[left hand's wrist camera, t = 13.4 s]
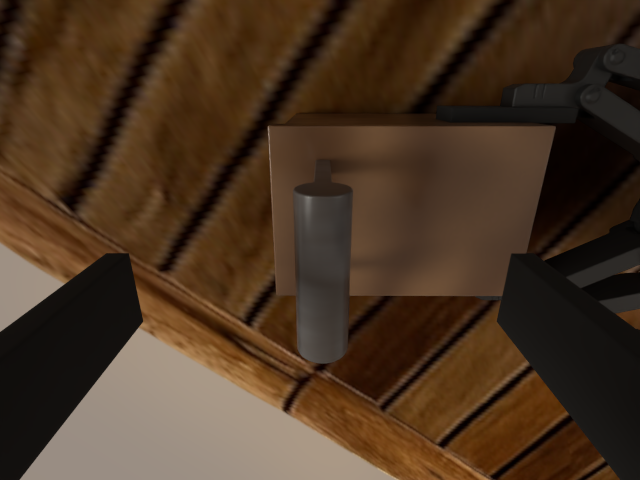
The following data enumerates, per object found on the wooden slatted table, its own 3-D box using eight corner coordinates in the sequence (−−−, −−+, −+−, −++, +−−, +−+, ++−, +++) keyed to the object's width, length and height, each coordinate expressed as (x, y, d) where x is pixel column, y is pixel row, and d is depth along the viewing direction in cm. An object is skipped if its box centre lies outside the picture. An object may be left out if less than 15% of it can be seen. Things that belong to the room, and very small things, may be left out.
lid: (278, 285, 22) (254, 393, 14) (270, 123, 18) (232, 148, 11) (506, 286, 22) (609, 395, 14) (543, 123, 18) (707, 148, 10)
